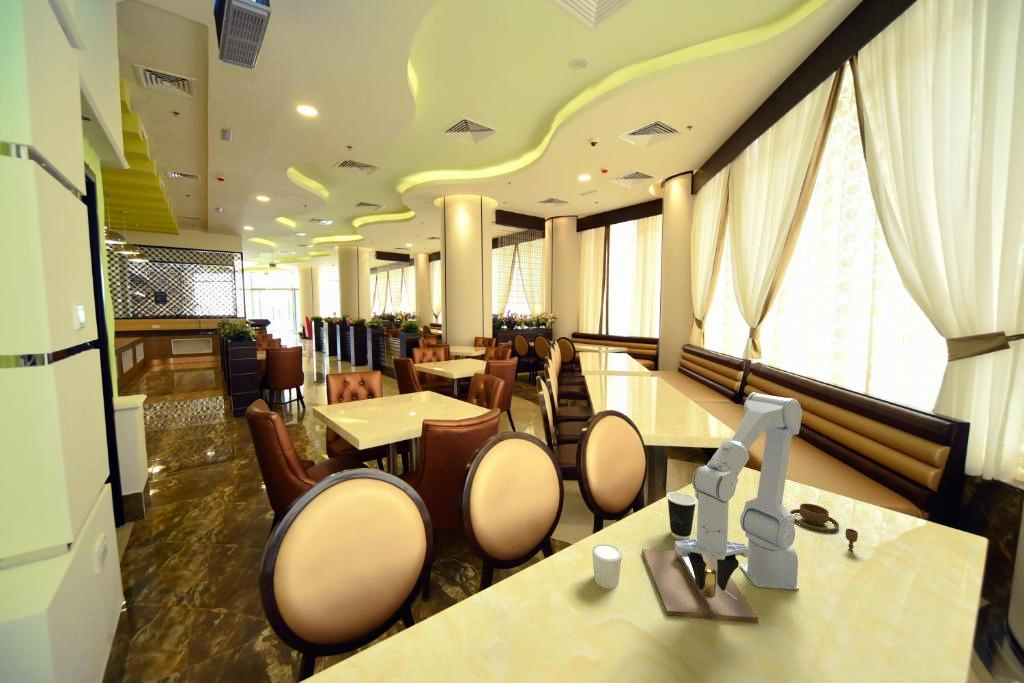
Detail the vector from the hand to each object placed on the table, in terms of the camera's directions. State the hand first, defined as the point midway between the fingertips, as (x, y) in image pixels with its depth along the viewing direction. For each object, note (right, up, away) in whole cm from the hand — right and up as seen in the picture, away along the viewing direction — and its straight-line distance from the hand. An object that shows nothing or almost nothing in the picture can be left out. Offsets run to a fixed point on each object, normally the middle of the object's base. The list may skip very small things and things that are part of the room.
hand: (710, 586), depth 82 cm
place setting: (+48, -4, +32) cm, 58 cm away
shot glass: (-20, -5, +9) cm, 22 cm away
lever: (0, -3, +8) cm, 8 cm away
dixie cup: (+6, -4, +29) cm, 30 cm away
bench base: (0, -5, +8) cm, 9 cm away
